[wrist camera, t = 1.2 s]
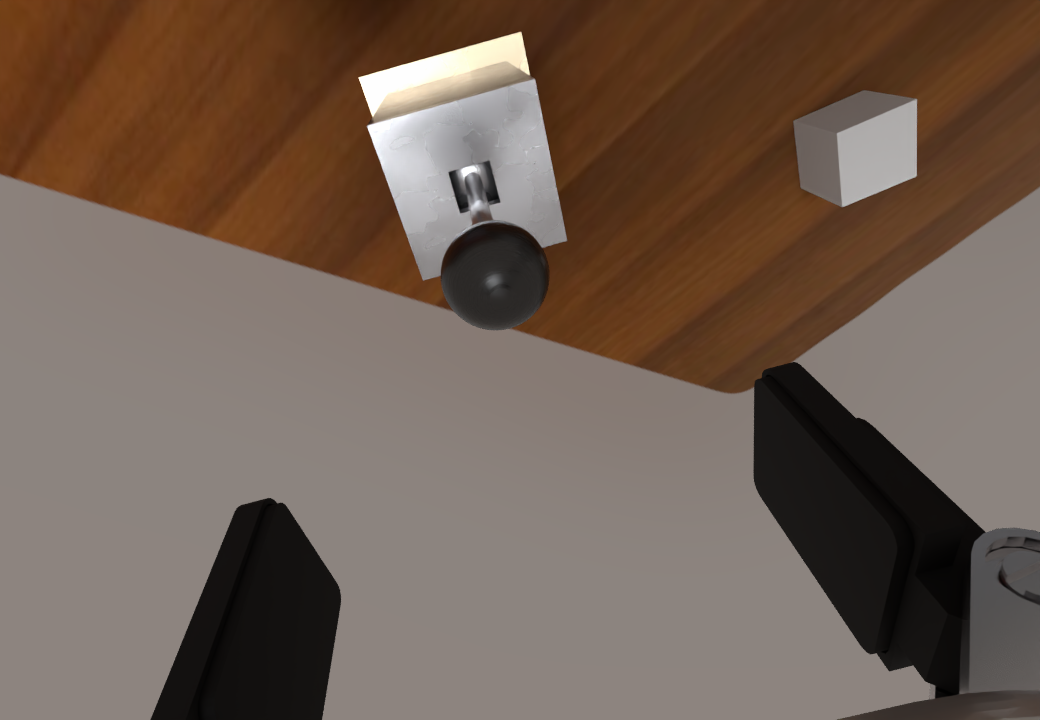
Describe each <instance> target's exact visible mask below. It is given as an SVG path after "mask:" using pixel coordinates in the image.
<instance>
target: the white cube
mask: <svg viewBox="0 0 1040 720" xmlns="http://www.w3.org/2000/svg"><path fill="white" fill-rule="evenodd" d="M793 123H794V132H795V141H796V150H797V159H798V168H799V177H800V186H801V188H802V189H804V190H806V191H808V192H810V193H812V194H815V195H817V196H819V197H821V198H823V199H825V200H827V201H830V202H832V203H834V204H836V205H838V206H840V207H844V206H847V205H849V204H851V203H854V202H856V201H859V200H861V199H863V198H866V197H868V196H871V195H873V194H875V193H878V192H880V191H883V190H885V189H887V188H890V187H892V186H895V185H897V184H899V183H902V182H904V181H907V180H909V179H911V178H914V177H916V176H917V99H914V98H908V97H902V96H896V95H890V94H884V93H878V92H872V91H866V90H863V91H861V92H859V93H856V94H854V95H852V96H849V97H847V98H845V99H842V100H840V101H838V102H836V103H833V104H831V105H829V106H826V107H824V108H822V109H819V110H817V111H815V112H813V113H810V114H808V115H806V116H803V117H801V118H799V119H796V120H794V121H793Z"/></svg>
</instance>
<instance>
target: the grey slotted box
mask: <svg viewBox="0 0 1040 720" xmlns="http://www.w3.org/2000/svg"><path fill="white" fill-rule="evenodd" d="M359 80H360V83H361V85H362V88H363V91H364V94H365V97H366V100H367V102H368V105H369V108H370V111H371V114H372V116H373V117H372V119H371V120H370V122H369V124H368V125H367V127H368V130H369V133H370V135H371V138H372V141H373V144H374V146H375V149H376V152H377V155H378V157H379V160H380V163H381V166H382V168H383V171H384V174H385V177H386V179H387V182H388V185H389V188H390V190H391V193H392V196H393V199H394V201H395V204H396V207H397V210H398V212H399V215H400V218H401V221H402V223H403V226H404V229H405V232H406V234H407V237H408V240H409V243H410V245H411V248H412V251H413V254H414V256H415V259H416V262H417V265H418V267H419V270H420V273H421V276H422V279H423V280H427V279H430V278H434V277H437V276H441V266H442V260H443V257H444V254H445V252H446V250H447V248H448V247H449V245H450V243H451V242H452V241H453V239H454V238H455V237H456V236H457V235H458V234H459V233H460V232H462V231H463V230H465V229H466V228H468V227H470V226H472V221H471V215H470V210H469V207H467V208H464V209H459V206H458V203H457V199H456V196H455V193H454V189H453V186H452V183H451V179H450V176H449V173H448V172H450V171H453V170H457V169H460V168H464V167H468V166H471V165H475V164H478V163H482V162H485V161H490V165H491V169H492V173H493V176H494V180H495V184H496V188H497V192H498V196H499V199H496V200H493V201H489V202H488V204H489V207H490V210H491V214H492V217H493V220H500V221H506V222H510V223H513V224H516V225H518V226H520V227H522V228H523V229H525V230H526V231H528V232H529V233H530V234H531V235H532V236H534V238H535V239H536V240H537V241H538V242H539V244H540V245H541V247H542V248H543V247H546V246H550V245H553V244H557V243H561V242H564V241H567V238H566V233H565V228H564V223H563V218H562V213H561V208H560V202H559V197H558V192H557V187H556V182H555V177H554V172H553V167H552V162H551V157H550V152H549V147H548V142H547V137H546V132H545V127H544V122H543V117H542V112H541V107H540V102H539V97H538V92H537V87H536V82H535V79H534V78H533V77H531V76H530V73H529V68H528V63H527V58H526V53H525V48H524V43H523V38H522V33H521V32H517V33H514V34H510V35H506V36H503V37H499V38H496V39H492V40H489V41H485V42H482V43H478V44H475V45H471V46H467V47H464V48H460V49H457V50H453V51H450V52H446V53H443V54H439V55H435V56H432V57H428V58H425V59H421V60H418V61H414V62H411V63H407V64H404V65H400V66H396V67H393V68H389V69H386V70H382V71H379V72H375V73H372V74H368V75H365V76H361V77H359Z"/></svg>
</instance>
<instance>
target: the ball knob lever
mask: <svg viewBox="0 0 1040 720" xmlns="http://www.w3.org/2000/svg"><path fill="white" fill-rule="evenodd" d="M448 173H449V176H450V179H451V183H452V186H453V189H454V193H455V196H456V199H457V203H458V206H459V209H464V208H467V207H469V210H470V215H471V221H472V226H470V227H468V228H466V229H465V230H463V231H462V232H460V233H459V234H458V235H457V236H456V237H455V238H454V239H453V241H452V242H451V243H450V245H449V247H448V248H447V250H446V252H445V254H444V257H443V260H442V266H441V285H442V289H443V293H444V295H445V298H446V300H447V302H448V303H449V305H450V307H451V308H452V309H453V310H454V312H455V313H456V314H457V315H458V316H459V317H461V318H462V319H463V320H465V321H466V322H468V323H470V324H471V325H473V326H476V327H479V328H482V329H487V330H504V329H509V328H512V327H515V326H517V325H520V324H522V323H523V322H525V321H526V320H528V319H529V318H530V317H531V316H532V315H533V314H534V313H535V312H536V311H537V310H538V309H539V307H540V306H541V304H542V302H543V301H544V298H545V296H546V294H547V290H548V286H549V265H548V261H547V258H546V255H545V253H544V250H543V249H542V247H541V245H540V244H539V242H538V241H537V240H536V239H535V238H534V236H532V235H531V234H530V233H529V232H528V231H526V230H525V229H523V228H522V227H520V226H518V225H516V224H513V223H510V222H506V221H500V220H493V217H492V214H491V210H490V207H489V204H488V202H489V201H493V200H496V199H499V196H498V192H497V188H496V184H495V180H494V176H493V173H492V169H491V165H490V161H485V162H482V163H478V164H475V165H471V166H468V167H464V168H460V169H457V170H453V171H450V172H448Z"/></svg>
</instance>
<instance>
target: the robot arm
mask: <svg viewBox="0 0 1040 720" xmlns="http://www.w3.org/2000/svg"><path fill="white" fill-rule="evenodd" d="M754 482H755V486H756V489H757V491H758V493H759V495H760V497H761V498H762V500H763V501H764V503H765V504H766V506H767V507H768V508H769V510H770V512H771V513H772V515H773V516H774V518H775V519H776V521H777V522H778V523H779V525H780V526H781V528H782V529H783V531H784V532H785V534H786V535H787V537H788V538H789V540H790V541H791V543H792V544H793V546H794V547H795V549H796V550H797V552H798V553H799V554H800V556H801V558H802V559H803V561H804V562H805V564H806V565H807V566H808V568H809V569H810V571H811V572H812V574H813V575H814V577H815V578H816V580H817V581H818V583H819V584H820V586H821V587H822V589H823V590H824V592H825V593H826V595H827V596H828V598H829V599H830V601H831V602H832V604H833V605H834V607H835V608H836V610H837V611H838V613H839V614H840V616H841V617H842V619H843V620H844V622H845V623H846V625H847V626H848V628H849V629H850V631H851V632H852V633H853V635H854V636H855V638H856V639H857V641H858V642H859V644H860V645H861V646H862V648H863V649H864V650H865V651H866V652H867V653H869V654H875V653H877V654H878V656H879V657H880V659H881V660H882V662H883V663H884V665H885V666H886V668H887V669H888V670H889V671H893V670H897V669H901V668H904V667H908V666H912V665H914V667H915V668H916V670H917V671H918V672H919V674H920V675H921V676H922V678H923V679H924V680H925V681H926V682H928V683H930V695H929V700H924V701H919V702H913V703H908V704H904V705H900V706H895V707H891V708H886V709H882V710H878V711H873V712H869V713H864V714H860V715H855V716H851V717H847V718H842V719H838V720H1040V532H1037V531H1034V530H1027V529H1020V528H1002V529H995V530H992V531H989V532H987V533H986V532H985V531H984V530H983V529H982V528H981V527H979V526H978V525H977V524H976V523H975V522H974V521H973V520H972V519H971V518H970V517H969V516H968V515H967V514H966V513H965V512H963V510H961V509H960V508H959V507H958V506H957V505H956V504H955V503H954V502H953V501H952V500H951V499H950V498H949V497H948V496H947V495H946V494H944V493H943V492H942V491H941V490H940V489H939V488H938V487H937V486H936V485H935V484H934V483H933V482H932V481H931V480H930V479H929V478H928V477H926V476H925V475H924V474H923V473H922V472H921V471H920V470H919V469H918V468H917V467H916V466H915V465H914V464H912V462H910V461H909V460H908V459H907V458H906V457H905V456H904V455H903V454H902V453H901V452H900V451H899V450H898V449H897V448H896V447H894V446H893V445H892V444H891V443H890V442H889V441H888V440H887V439H886V438H885V437H884V436H883V435H882V434H881V433H880V432H879V431H877V430H876V428H874V427H873V426H872V425H871V424H870V423H868V422H867V421H865V420H863V419H860V418H855V417H854V416H853V415H852V414H851V413H850V412H849V411H848V410H847V409H846V408H845V407H844V406H842V404H841V403H839V402H838V401H837V400H836V399H835V398H834V397H833V396H832V395H831V394H830V393H829V392H828V391H827V390H826V389H825V388H824V387H823V386H822V385H821V384H820V383H819V382H818V381H817V380H816V379H815V378H814V377H812V376H811V375H810V374H809V373H808V372H807V371H806V370H805V369H804V368H803V367H802V366H801V365H800V364H798V363H796V362H792V363H788V364H784V365H781V366H777V367H773V368H769V369H766V370H764V371H763V373H762V378H761V379H757V380H756V381H755V386H754ZM340 605H341V594H340V589H339V586H338V584H337V583H336V581H335V579H334V578H333V576H332V575H331V573H330V572H329V570H328V569H327V567H326V566H325V564H324V563H323V561H322V560H321V558H320V557H319V555H318V554H317V552H316V551H315V549H314V547H313V546H312V544H311V543H310V541H309V540H308V538H307V537H306V535H305V534H304V532H303V531H302V529H301V528H300V526H299V525H298V523H297V522H296V520H295V518H294V517H293V515H292V514H291V512H290V511H289V509H288V508H287V506H286V505H285V504H283V503H278V504H277V503H276V501H275V500H273V499H271V498H267V499H263V500H259V501H256V502H252V503H248V504H244V505H241V506H239V507H238V508H237V509H236V511H235V513H234V515H233V518H232V520H231V523H230V525H229V528H228V530H227V532H226V535H225V537H224V540H223V542H222V545H221V547H220V550H219V552H218V555H217V557H216V560H215V562H214V564H213V567H212V569H211V572H210V574H209V577H208V579H207V582H206V584H205V587H204V589H203V592H202V594H201V597H200V599H199V602H198V604H197V606H196V609H195V611H194V614H193V616H192V619H191V621H190V624H189V626H188V629H187V631H186V634H185V636H184V639H183V641H182V643H181V646H180V648H179V651H178V653H177V656H176V658H175V661H174V663H173V666H172V668H171V671H170V673H169V676H168V678H167V680H166V683H165V685H164V688H163V690H162V693H161V695H160V698H159V700H158V703H157V705H156V708H155V710H154V713H153V715H152V718H151V720H322V716H323V710H324V704H325V697H326V691H327V685H328V679H329V673H330V666H331V661H332V654H333V648H334V642H335V636H336V630H337V624H338V618H339V611H340Z"/></svg>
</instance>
